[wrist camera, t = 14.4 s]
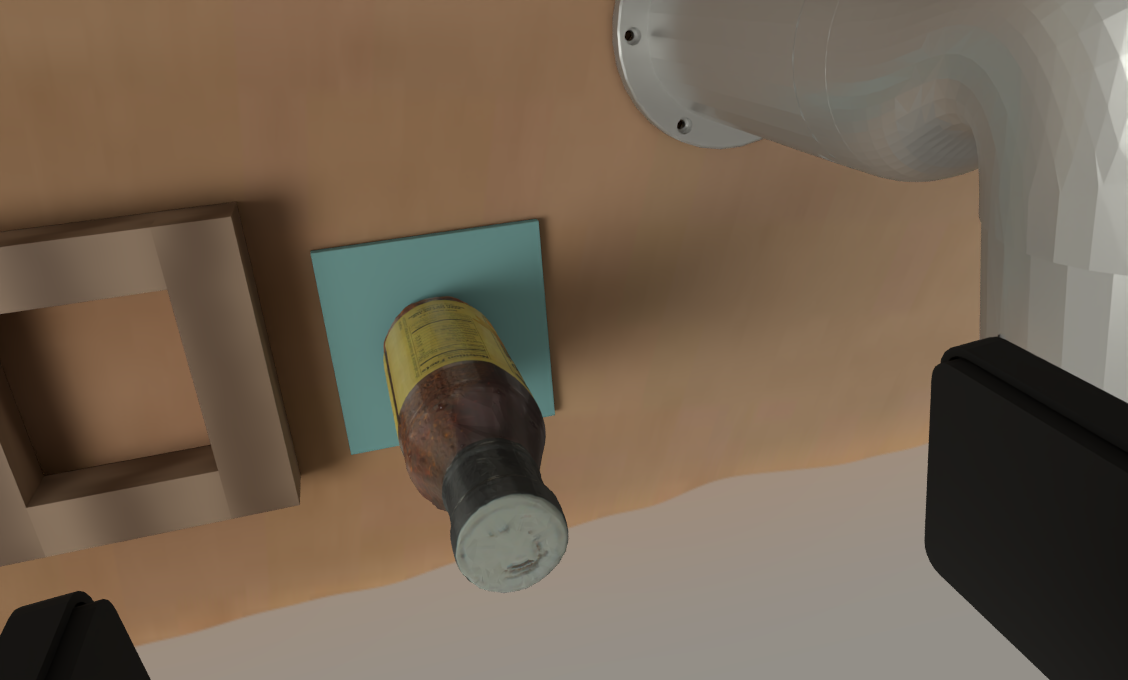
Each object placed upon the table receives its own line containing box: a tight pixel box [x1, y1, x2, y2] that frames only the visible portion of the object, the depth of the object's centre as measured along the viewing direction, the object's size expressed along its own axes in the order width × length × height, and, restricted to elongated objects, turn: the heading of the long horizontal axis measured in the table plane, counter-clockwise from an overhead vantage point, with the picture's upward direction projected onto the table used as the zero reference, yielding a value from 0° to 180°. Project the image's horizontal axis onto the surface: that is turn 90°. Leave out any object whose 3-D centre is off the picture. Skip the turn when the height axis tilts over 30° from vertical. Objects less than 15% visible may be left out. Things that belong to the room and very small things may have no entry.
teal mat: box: [311, 219, 555, 455], centre depth 47 cm, size 12×12×1 cm
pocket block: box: [0, 202, 301, 566], centre depth 41 cm, size 16×16×3 cm
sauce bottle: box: [383, 296, 568, 593], centre depth 37 cm, size 7×6×20 cm
